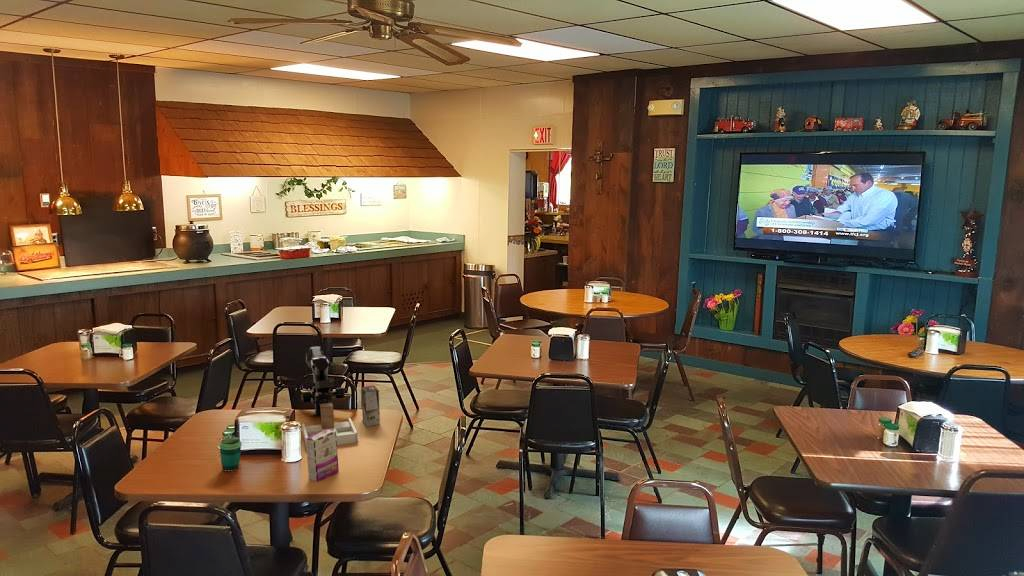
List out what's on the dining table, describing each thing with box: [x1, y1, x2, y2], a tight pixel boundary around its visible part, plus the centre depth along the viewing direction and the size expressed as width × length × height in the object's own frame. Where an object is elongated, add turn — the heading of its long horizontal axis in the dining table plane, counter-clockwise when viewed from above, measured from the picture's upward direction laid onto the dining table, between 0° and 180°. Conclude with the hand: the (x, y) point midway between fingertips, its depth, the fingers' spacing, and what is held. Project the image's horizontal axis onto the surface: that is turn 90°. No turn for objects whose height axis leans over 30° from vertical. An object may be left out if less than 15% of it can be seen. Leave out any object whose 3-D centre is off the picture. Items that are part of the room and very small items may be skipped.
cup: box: [218, 436, 243, 471], centre depth 279 cm, size 8×8×12 cm
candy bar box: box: [305, 429, 340, 483], centre depth 272 cm, size 11×5×16 cm, turn 148°
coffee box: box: [360, 385, 381, 427], centre depth 330 cm, size 9×6×16 cm
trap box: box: [301, 417, 359, 446], centre depth 312 cm, size 21×21×4 cm
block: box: [320, 402, 335, 429], centre depth 318 cm, size 5×5×10 cm
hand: (325, 411), depth 323 cm, fingers closed
